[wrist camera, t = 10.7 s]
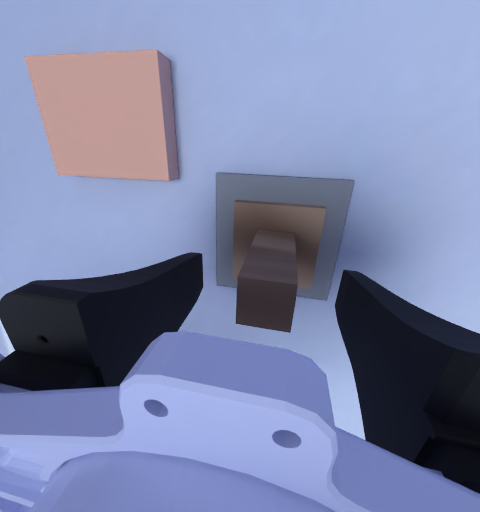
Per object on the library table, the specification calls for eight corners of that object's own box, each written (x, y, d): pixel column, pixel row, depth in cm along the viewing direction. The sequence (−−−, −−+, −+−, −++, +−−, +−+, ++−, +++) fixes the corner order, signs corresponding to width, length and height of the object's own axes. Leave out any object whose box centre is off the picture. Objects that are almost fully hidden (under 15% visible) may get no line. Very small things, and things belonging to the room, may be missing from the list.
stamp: (310, 283, 18) (323, 367, 11) (234, 274, 19) (201, 345, 12) (324, 206, 15) (354, 249, 8) (236, 199, 16) (196, 233, 9)
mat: (325, 297, 18) (326, 300, 18) (218, 282, 20) (216, 285, 19) (352, 179, 15) (354, 180, 14) (218, 172, 16) (215, 173, 16)
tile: (169, 181, 16) (156, 49, 13) (57, 174, 17) (24, 56, 14) (181, 178, 17) (172, 62, 14) (79, 173, 19) (53, 67, 16)
